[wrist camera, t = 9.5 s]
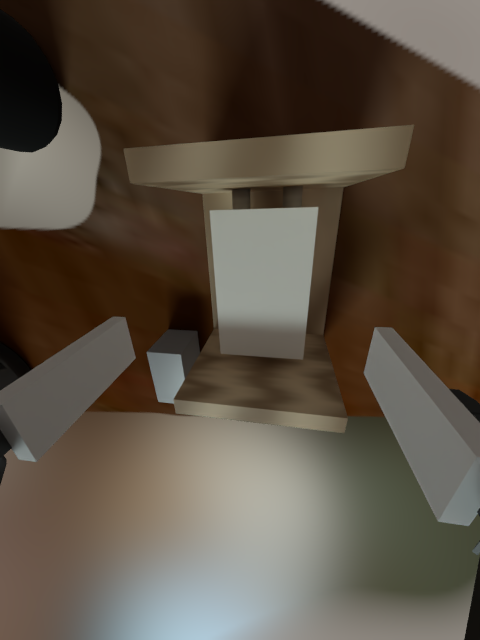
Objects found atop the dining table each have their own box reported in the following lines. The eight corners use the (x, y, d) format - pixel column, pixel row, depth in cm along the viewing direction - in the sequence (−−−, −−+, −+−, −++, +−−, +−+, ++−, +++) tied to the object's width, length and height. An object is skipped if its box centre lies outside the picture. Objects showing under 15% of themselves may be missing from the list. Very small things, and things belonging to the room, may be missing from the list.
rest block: (176, 374, 38) (158, 401, 32) (168, 329, 34) (146, 352, 29) (202, 376, 37) (188, 405, 32) (197, 330, 34) (180, 354, 28)
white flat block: (227, 338, 26) (220, 353, 24) (219, 209, 21) (209, 210, 18) (301, 343, 25) (303, 359, 22) (313, 206, 19) (318, 206, 17)
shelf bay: (216, 335, 33) (176, 413, 21) (203, 176, 25) (123, 148, 13) (320, 341, 31) (344, 433, 19) (343, 169, 23) (414, 124, 10)
